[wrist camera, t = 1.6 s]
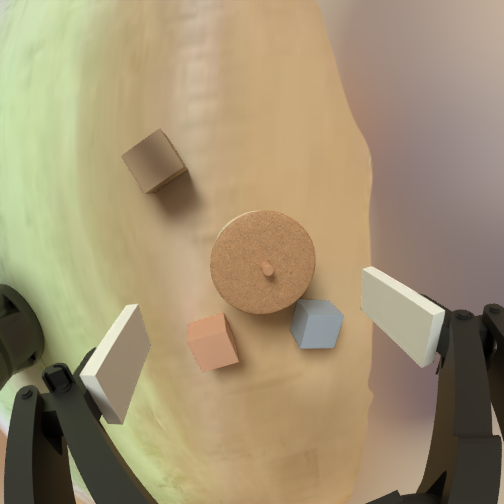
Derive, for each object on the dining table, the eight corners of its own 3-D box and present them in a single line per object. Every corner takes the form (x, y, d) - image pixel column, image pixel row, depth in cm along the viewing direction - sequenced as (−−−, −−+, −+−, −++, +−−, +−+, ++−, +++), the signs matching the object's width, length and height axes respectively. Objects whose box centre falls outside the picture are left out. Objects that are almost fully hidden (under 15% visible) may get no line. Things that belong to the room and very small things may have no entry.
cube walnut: (154, 192, 31) (144, 194, 26) (133, 160, 30) (121, 156, 25) (188, 169, 31) (183, 166, 26) (167, 136, 30) (159, 128, 25)
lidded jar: (269, 300, 36) (287, 335, 27) (196, 267, 34) (191, 296, 25) (308, 230, 35) (340, 245, 26) (235, 190, 32) (244, 191, 23)
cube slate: (290, 330, 38) (300, 348, 33) (297, 298, 37) (309, 314, 32) (321, 330, 39) (334, 347, 34) (329, 300, 38) (343, 315, 33)
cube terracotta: (202, 351, 37) (202, 372, 32) (189, 323, 36) (186, 342, 31) (235, 341, 37) (238, 361, 32) (223, 312, 36) (225, 330, 31)
